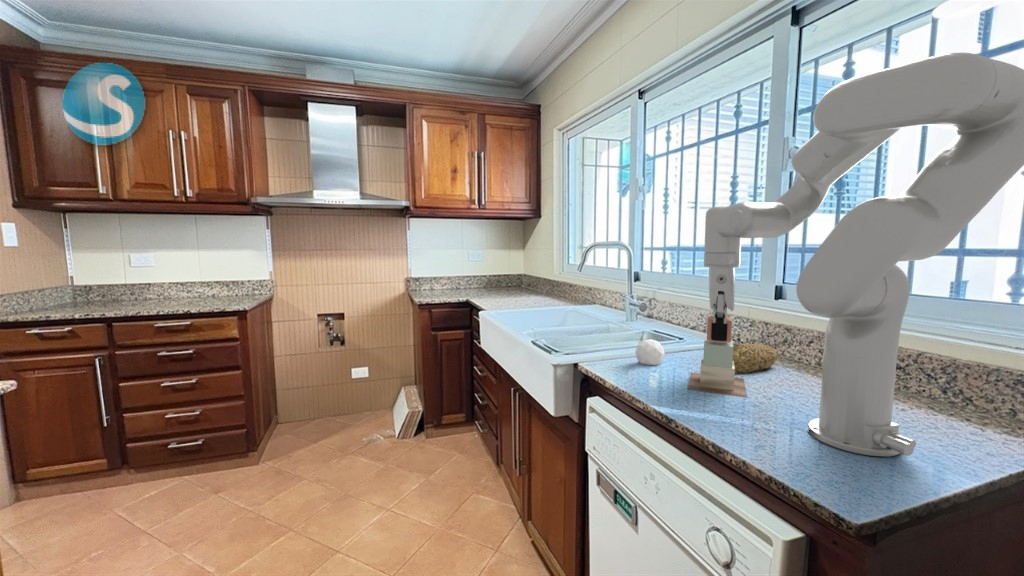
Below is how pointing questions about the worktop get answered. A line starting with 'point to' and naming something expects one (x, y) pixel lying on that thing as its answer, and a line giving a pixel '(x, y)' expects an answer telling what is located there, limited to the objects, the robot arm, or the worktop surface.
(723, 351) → the tower middle block
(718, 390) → the walnut board
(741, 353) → the sponge
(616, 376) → the worktop surface
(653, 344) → the ball
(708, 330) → the terracotta block
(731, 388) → the tower base block
